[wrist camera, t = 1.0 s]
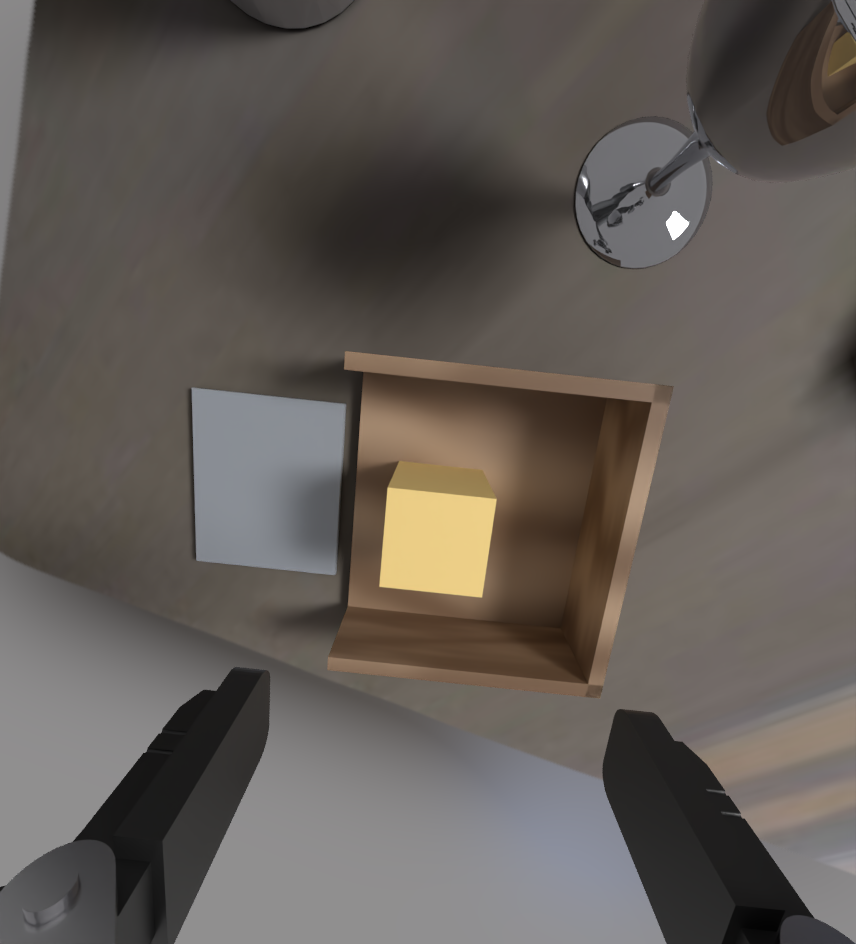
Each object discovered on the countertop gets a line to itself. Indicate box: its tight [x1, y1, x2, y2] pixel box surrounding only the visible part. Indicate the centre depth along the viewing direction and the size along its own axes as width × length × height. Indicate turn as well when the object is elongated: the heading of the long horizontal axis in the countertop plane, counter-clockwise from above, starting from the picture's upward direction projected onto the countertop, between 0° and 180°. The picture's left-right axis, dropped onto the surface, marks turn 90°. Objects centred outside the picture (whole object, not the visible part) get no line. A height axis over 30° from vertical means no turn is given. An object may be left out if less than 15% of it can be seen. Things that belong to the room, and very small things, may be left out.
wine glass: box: [575, 0, 856, 269], centre depth 14 cm, size 8×8×15 cm
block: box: [379, 461, 497, 598], centre depth 22 cm, size 5×5×6 cm
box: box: [327, 351, 674, 698], centre depth 23 cm, size 17×15×6 cm
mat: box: [192, 388, 346, 575], centre depth 25 cm, size 11×9×1 cm
